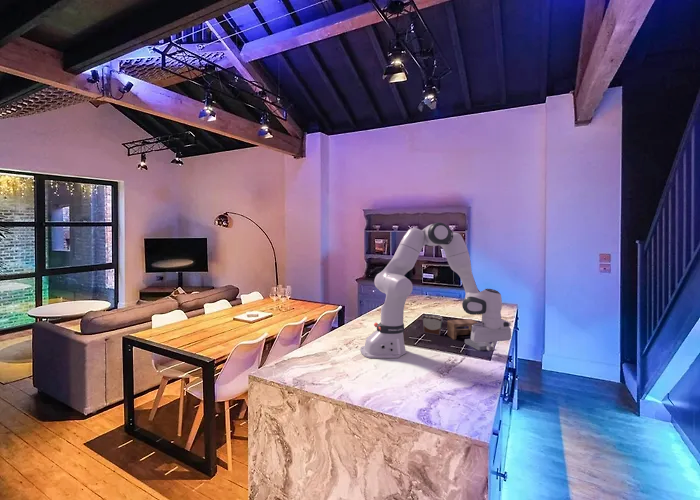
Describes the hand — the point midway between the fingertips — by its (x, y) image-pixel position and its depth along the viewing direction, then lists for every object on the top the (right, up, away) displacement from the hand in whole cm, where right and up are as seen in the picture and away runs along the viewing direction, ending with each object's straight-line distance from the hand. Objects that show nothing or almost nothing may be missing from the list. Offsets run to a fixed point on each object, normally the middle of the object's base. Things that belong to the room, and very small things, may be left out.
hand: (490, 349), depth 178 cm
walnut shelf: (-5, 0, +26) cm, 27 cm away
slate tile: (-2, -1, +11) cm, 11 cm away
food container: (-20, +1, +33) cm, 39 cm away
